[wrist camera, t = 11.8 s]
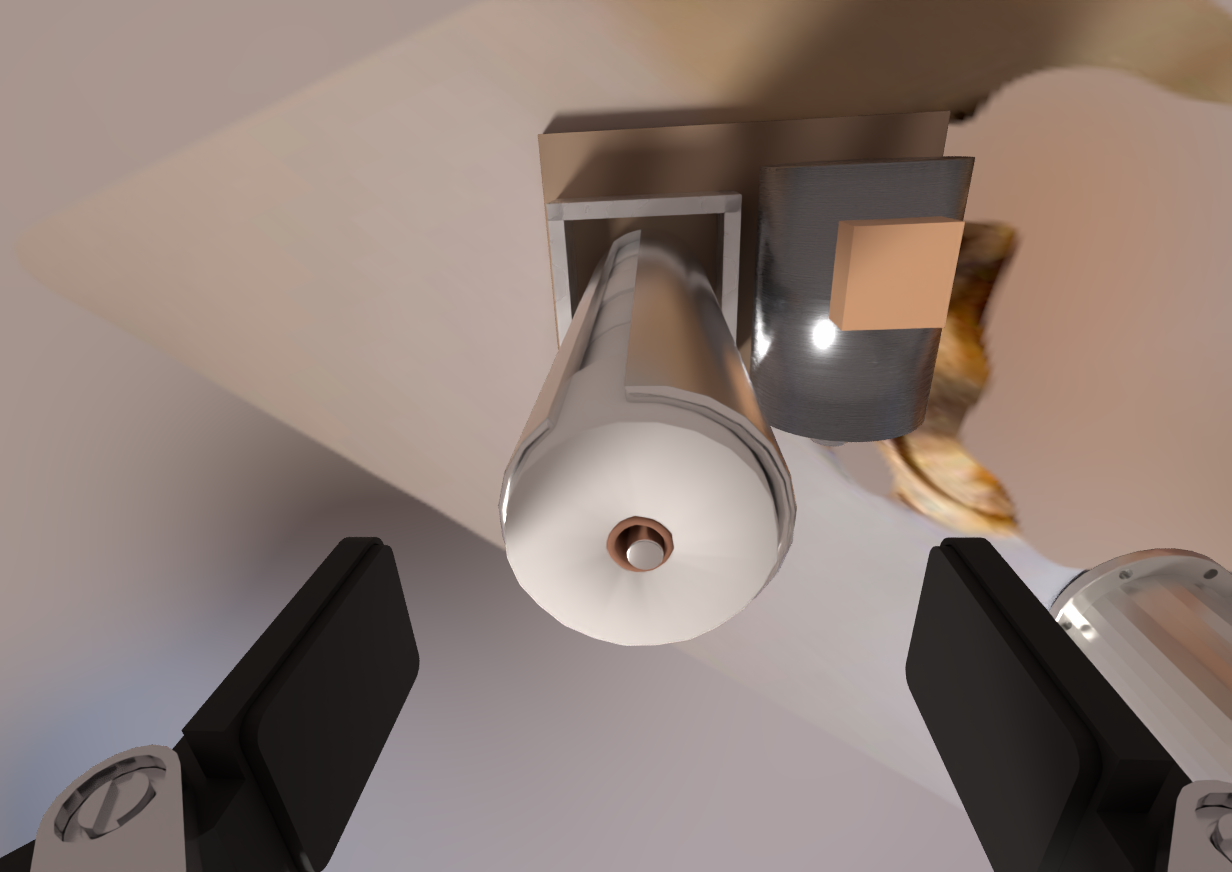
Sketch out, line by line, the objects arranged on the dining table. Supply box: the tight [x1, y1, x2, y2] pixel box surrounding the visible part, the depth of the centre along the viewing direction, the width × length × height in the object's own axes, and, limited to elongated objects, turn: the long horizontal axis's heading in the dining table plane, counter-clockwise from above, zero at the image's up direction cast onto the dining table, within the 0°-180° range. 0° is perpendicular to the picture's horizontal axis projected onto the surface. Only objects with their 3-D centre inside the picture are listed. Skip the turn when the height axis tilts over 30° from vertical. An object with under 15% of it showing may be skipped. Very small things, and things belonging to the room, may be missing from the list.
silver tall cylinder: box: [498, 228, 797, 646], centre depth 23 cm, size 6×6×25 cm
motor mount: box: [538, 111, 975, 446], centre depth 30 cm, size 21×16×12 cm
